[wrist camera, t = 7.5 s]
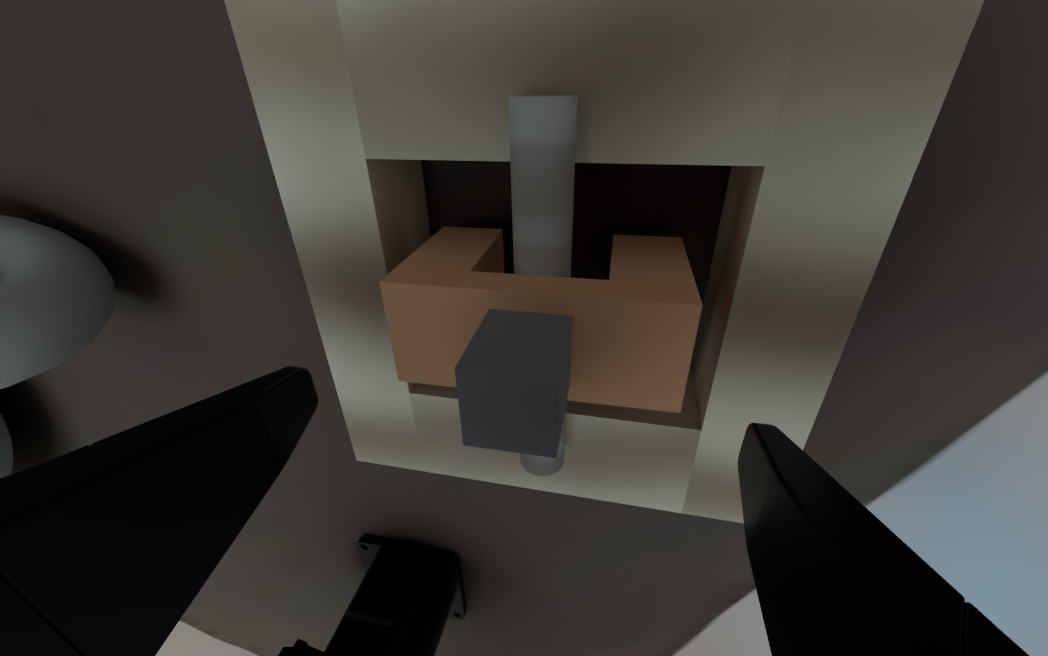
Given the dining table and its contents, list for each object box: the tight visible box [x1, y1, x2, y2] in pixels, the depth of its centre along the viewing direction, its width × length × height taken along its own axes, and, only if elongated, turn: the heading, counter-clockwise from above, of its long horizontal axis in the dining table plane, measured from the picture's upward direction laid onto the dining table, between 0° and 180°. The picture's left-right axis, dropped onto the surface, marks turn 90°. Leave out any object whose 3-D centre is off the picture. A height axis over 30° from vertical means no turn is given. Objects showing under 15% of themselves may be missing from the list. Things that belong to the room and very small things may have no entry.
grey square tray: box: [224, 0, 984, 523], centre depth 14 cm, size 16×16×5 cm
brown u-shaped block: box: [379, 226, 702, 458], centre depth 12 cm, size 3×8×7 cm, turn 92°
